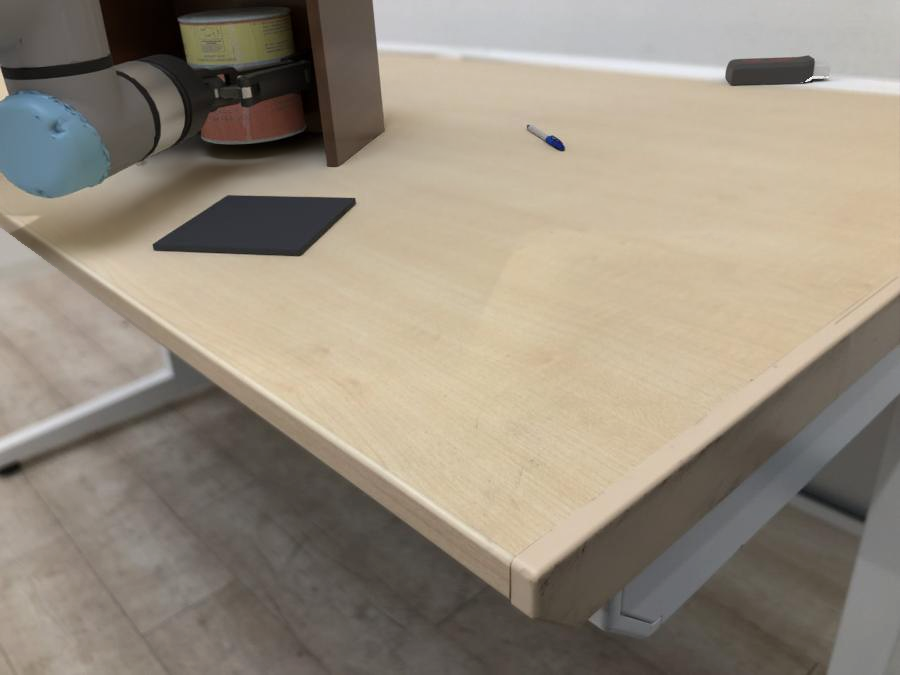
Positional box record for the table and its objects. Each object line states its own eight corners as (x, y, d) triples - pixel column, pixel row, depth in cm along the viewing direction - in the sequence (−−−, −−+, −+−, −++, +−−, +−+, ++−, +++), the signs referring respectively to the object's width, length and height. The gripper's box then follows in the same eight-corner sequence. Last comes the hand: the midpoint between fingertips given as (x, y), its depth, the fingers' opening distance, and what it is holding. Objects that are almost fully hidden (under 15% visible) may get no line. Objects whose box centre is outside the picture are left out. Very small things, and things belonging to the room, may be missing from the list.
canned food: (275, 114, 94) (258, 5, 89) (326, 128, 86) (311, 9, 81) (184, 133, 88) (159, 16, 82) (230, 150, 80) (206, 22, 75)
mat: (153, 250, 61) (151, 243, 60) (228, 200, 71) (227, 194, 71) (300, 255, 58) (299, 249, 57) (356, 203, 68) (355, 197, 68)
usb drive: (724, 78, 107) (727, 56, 106) (819, 75, 105) (823, 53, 104) (730, 85, 103) (733, 62, 102) (830, 82, 101) (833, 59, 100)
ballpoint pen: (568, 151, 79) (568, 141, 79) (559, 152, 79) (559, 142, 79) (530, 129, 88) (530, 120, 88) (523, 130, 88) (522, 121, 88)
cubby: (121, 164, 85) (63, -72, 74) (194, 130, 97) (152, -75, 87) (338, 166, 79) (306, -89, 69) (385, 130, 92) (364, -90, 81)
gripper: (44, 148, 73) (172, 98, 92) (281, 150, 68) (365, 97, 86) (19, 62, 70) (157, 29, 88) (267, 57, 64) (358, 23, 83)
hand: (260, 63), depth 87 cm, fingers closed on canned food, 11 cm apart
